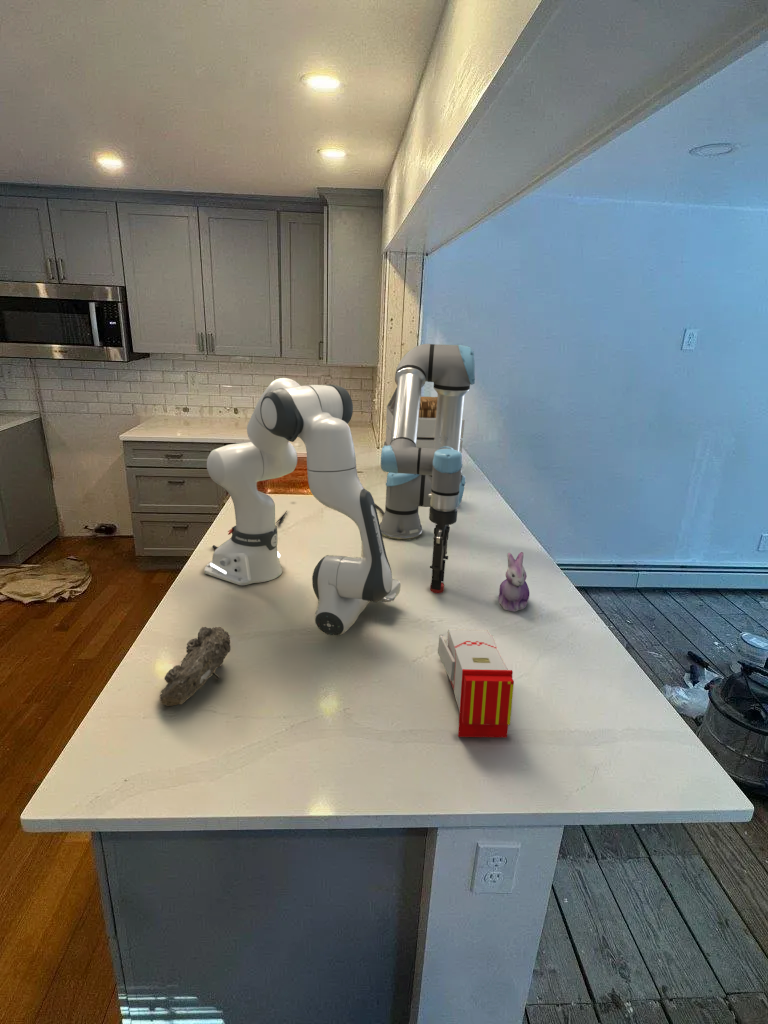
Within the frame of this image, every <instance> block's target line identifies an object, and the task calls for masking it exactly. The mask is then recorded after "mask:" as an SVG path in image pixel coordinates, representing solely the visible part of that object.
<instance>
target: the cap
mask: <svg viewBox="0 0 768 1024" xmlns="http://www.w3.org/2000/svg"><path fill="white" fill-rule="evenodd" d="M429 586H430V588H429V590H430V592H431V593H433V594H442V593H444V592H445V582H441V590H435V589H431V585H429Z"/></svg>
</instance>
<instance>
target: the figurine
mask: <svg viewBox="0 0 768 1024" xmlns="http://www.w3.org/2000/svg"><path fill="white" fill-rule="evenodd" d="M506 556H507V569H506V571H505V579H504V580H502V581H501V583H500V585H499V591H498V592H499V593H498V597H497V598H498V600H497V601H498V604H499V605H500V606H501V607H502V609H503V610H505V611H507V612H508V611H509V612H518V611H520V610H521V611H522V610H524V609H525V608H526V607H527V605H528V601H529V599H530V588H529V585H528V584H527V581H526V580H527V571H526V570H525V567H524V552H523V551H520V552H519V553H518V555H517V557H516V559H515V557H514V556H513V554H512V553H511V552H508V553H507V555H506Z"/></svg>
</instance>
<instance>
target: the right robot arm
mask: <svg viewBox="0 0 768 1024" xmlns="http://www.w3.org/2000/svg"><path fill="white" fill-rule="evenodd" d="M474 352H475V351H474V349H473V348H472V347H471V346H467V345H460V344H438V343H437V344H436V343H435V344H434V343H433V344H432V343H423V344H422V343H421V344H418V345H416V346H413V348H411V349H410V350H409V351H407V352H406V353H405V354H404V355H403V357H401V359H400V361H399V363H398V364H397V367H396V369H395V373H394V382H395V385H396V388H397V392H396V400H395V408H394V417H393V425H392V433H391V441H390V445H388V446H384V445H383V446H382V448H381V452H380V453H381V454H380V469H381V470H382V471H383V472H386V473H387V475H386V482H385V487H386V488H385V489H386V490H385V504H384V505H385V507H384V508H385V509H384V510H383V509H382V507H380V506H379V505H377V504H376V503H375V507H376V509H378V510H379V511H380V513H381V514H382V519H381V522H379V524H380V527H381V533H382V537H385V538H387V539H389V540H395V541H410V540H415V539H418V538H420V537H421V536H422V535H423V525H422V524H421V518H420V515H419V508H420V507H421V508H422V507H424V508H429V511H428V512H429V514H428V519H429V521H430V522H431V523H433V524H435V527H434V528H433V538H432V540H433V545H432V549H433V550H432V559H431V565H430V566H429V569H431V581H430V586H431V589H435V590H441V582H442V583H444V582H445V581H444V580H445V571H446V560H449V555H447V554H448V540H449V536H450V531H451V526H450V525H454V524H456V522H457V520H458V511H459V510H458V508H459V507H460V505H461V503H462V500H463V496H464V493H465V492H464V491H465V484H466V476H465V475H463V474H462V473H463V470H462V469H463V453H461V452H459V448H460V439H461V438H460V437H461V426H462V419H463V414H464V403H465V395H466V394H467V393H468V392H469V391H470V388H471V386H473V385H475V383H476V364H475V363H476V362H475V353H474ZM426 382H428V383H433V389H434V391H435V392H436V393H437V396H436V397H437V410H436V424H435V437H434V449H431V448H417V447H416V442H417V431H418V421H419V410H420V399H421V397H422V388H423V387H424V386H425V385H426Z"/></svg>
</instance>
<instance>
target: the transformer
mask: <svg viewBox="0 0 768 1024" xmlns="http://www.w3.org/2000/svg"><path fill="white" fill-rule="evenodd" d="M396 392H397V387H396V388H395V390H394V392H393V394H392V395H391V398H390V400H389V402H388V404H387V405H386V413H385V414H386V415H385V423H386V428H385V438H384V442H383V446H388V445H390V441H391V433H392V425H393V417H394V408H395V400H396ZM437 397H438V396H421V399H420V410H419V421H418V431H417V442H416V447H417V448H431V449H434V437H435V424H436V410H437ZM464 429H465V419H464V418H462V426H461V437H460V448H459V452H461V454H463V442H464V441H463V440H462V439H463V438H464V431H465V430H464Z"/></svg>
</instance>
